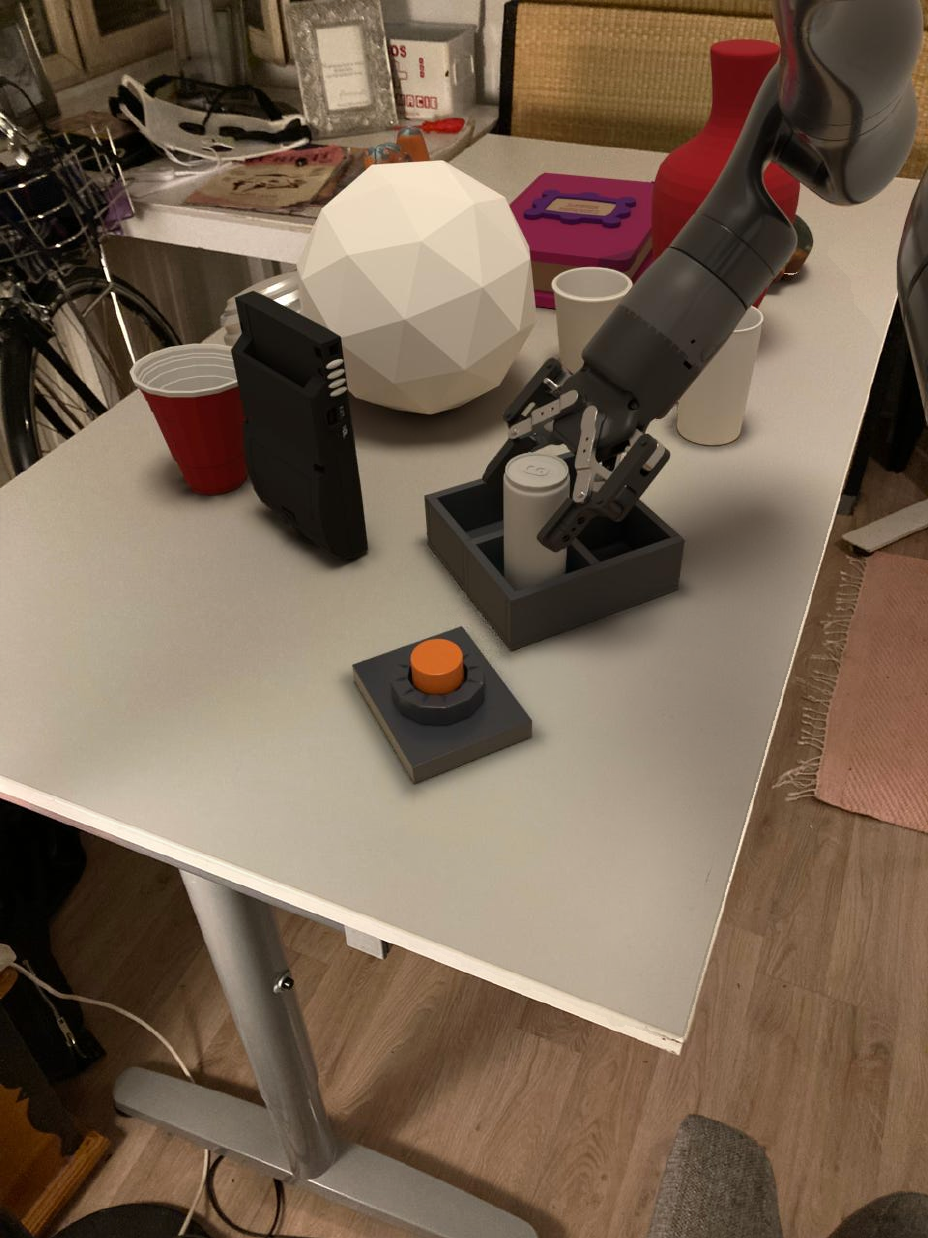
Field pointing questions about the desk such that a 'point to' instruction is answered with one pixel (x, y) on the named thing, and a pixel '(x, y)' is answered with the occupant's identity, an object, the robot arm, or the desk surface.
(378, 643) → the desk surface
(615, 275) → the dixie cup
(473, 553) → the divided tray
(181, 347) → the plastic cup
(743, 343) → the mug
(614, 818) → the desk surface
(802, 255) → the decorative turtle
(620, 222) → the book
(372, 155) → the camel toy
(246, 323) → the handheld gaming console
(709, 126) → the vase
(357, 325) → the lamp
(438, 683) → the button
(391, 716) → the panel
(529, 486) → the beverage can
